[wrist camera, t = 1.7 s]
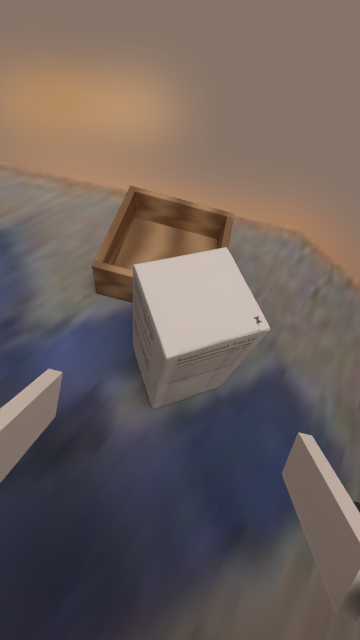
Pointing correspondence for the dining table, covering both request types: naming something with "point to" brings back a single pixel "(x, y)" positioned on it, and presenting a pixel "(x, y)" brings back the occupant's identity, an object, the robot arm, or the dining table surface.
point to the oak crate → (155, 237)
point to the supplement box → (192, 323)
